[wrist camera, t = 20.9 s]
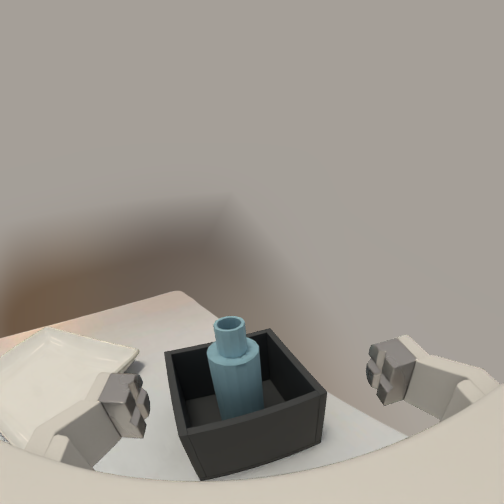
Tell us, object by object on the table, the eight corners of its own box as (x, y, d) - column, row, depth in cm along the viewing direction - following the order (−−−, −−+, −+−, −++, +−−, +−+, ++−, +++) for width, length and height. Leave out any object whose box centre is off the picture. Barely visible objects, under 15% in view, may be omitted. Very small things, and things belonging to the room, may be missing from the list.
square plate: (48, 480, 16) (30, 461, 15) (-31, 402, 22) (-41, 384, 21) (146, 364, 41) (140, 345, 40) (51, 338, 48) (45, 323, 47)
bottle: (256, 402, 32) (246, 306, 28) (271, 428, 27) (264, 329, 24) (218, 412, 30) (197, 317, 27) (229, 441, 26) (208, 343, 22)
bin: (273, 377, 37) (270, 327, 35) (320, 442, 25) (327, 391, 23) (179, 401, 33) (164, 351, 31) (200, 481, 21) (178, 436, 18)
